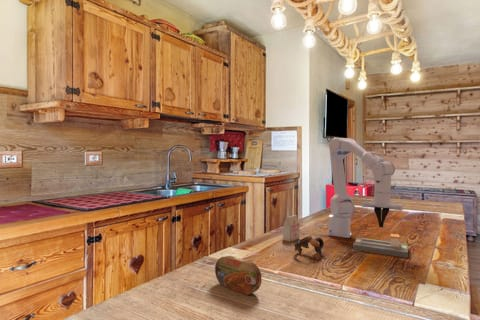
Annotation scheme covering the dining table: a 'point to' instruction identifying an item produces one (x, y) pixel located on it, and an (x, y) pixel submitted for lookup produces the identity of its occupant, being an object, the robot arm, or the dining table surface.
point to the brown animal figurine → (314, 243)
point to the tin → (238, 274)
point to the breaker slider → (394, 240)
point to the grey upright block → (291, 229)
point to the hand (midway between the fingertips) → (381, 226)
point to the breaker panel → (380, 247)
